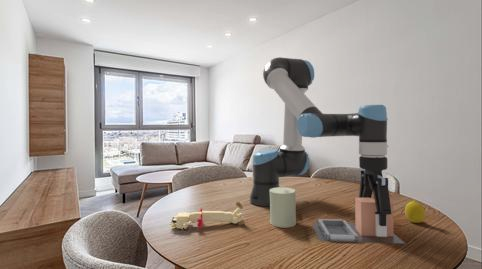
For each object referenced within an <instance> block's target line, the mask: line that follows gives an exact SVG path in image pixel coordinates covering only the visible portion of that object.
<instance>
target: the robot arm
mask: <svg viewBox="0 0 482 269" xmlns="http://www.w3.org/2000/svg"><path fill="white" fill-rule="evenodd" d="M262 72H263V74H262V77H263V81H264V83H265V84H266V85H267V87H268V88H269V89H271V90H274V92H275V93H276V94H277V95H278V97H279V98H280V99H281V100H282V101H283V103H284V115H283V116H284V119H283V121H284V122H283V140H282V145H281V146H279V150H278V149H277V148H276V149H274V148H273V149H264V150H260V151H259V150H258V151H257V152H254V154H253V157H252V172H253V173H252V176H253V183H252V184H253V185H252V188H251V192H250V196H249V202H250V204H252V203H253V204H252V205H254V204H255V205H256V206H258V205H260V206H259V207H270V191H269V190H270V189H272V188H277V187H281V186H280V178H286V177H298V176H302V175H304V174H305V173H307V171H308V170H309V168H310V162H311V161H310V157H309V153H308V152H306V147H304V146H303V145H302V144H303V137H304V138H311V139H312V138H326V137H358V154H359V155H360V156H359V162H358V163H359V168H360V169H362V170H360V183H359V195H358V198H372V196H373V198H374V199H375V204H376V209H377V212H374V213H375V214H376V236H379V237H387V214H391V206H390V201H391V200H390V191H389V178H388V177H383V171H386V170H387V169H388V157H386V156H387V155H388V148H389V145H388V137H387V134H388V115H387V107H386V105H384V104H366V105H360V106H359V108H358V112H355V113H323V112H322V111H321V110H320V109H319V108H318V107H317V106H316V105H315V104H314V103H313V101H311V99H310V98H309V97H308V96H307V95H306V94H305V93H306V92H307V91H308V90H309V86H311V85H312V84H313V82H314V79H315V69H314V66H313V65H312V63H311V62H310V61H309V60H307V59H306V60H304V59H302V58H292V57H291V58H287V57H281V56H280V57H274V58H272V59H270V60H269V61H268V62H267V63H266V64H265V66H264V68H263V71H262Z"/></svg>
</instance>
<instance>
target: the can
mask: <svg viewBox="0 0 482 269" xmlns="http://www.w3.org/2000/svg"><path fill="white" fill-rule="evenodd" d="M269 191H270V206H269V215H270V216H269V223H270V225H271V224H272V225H271V226H272V227H277V228H283V229H284V228H286V229H288V228H294V227H295V226H296V225H297V215H296V214H297V211H296V210H297V209H296V206H297V204H296V194H297V193H296V191H297V190H296V189H294V188H291V187H285V186H284V187H283V186H280V187H277V188H272V189H270V190H269Z"/></svg>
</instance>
